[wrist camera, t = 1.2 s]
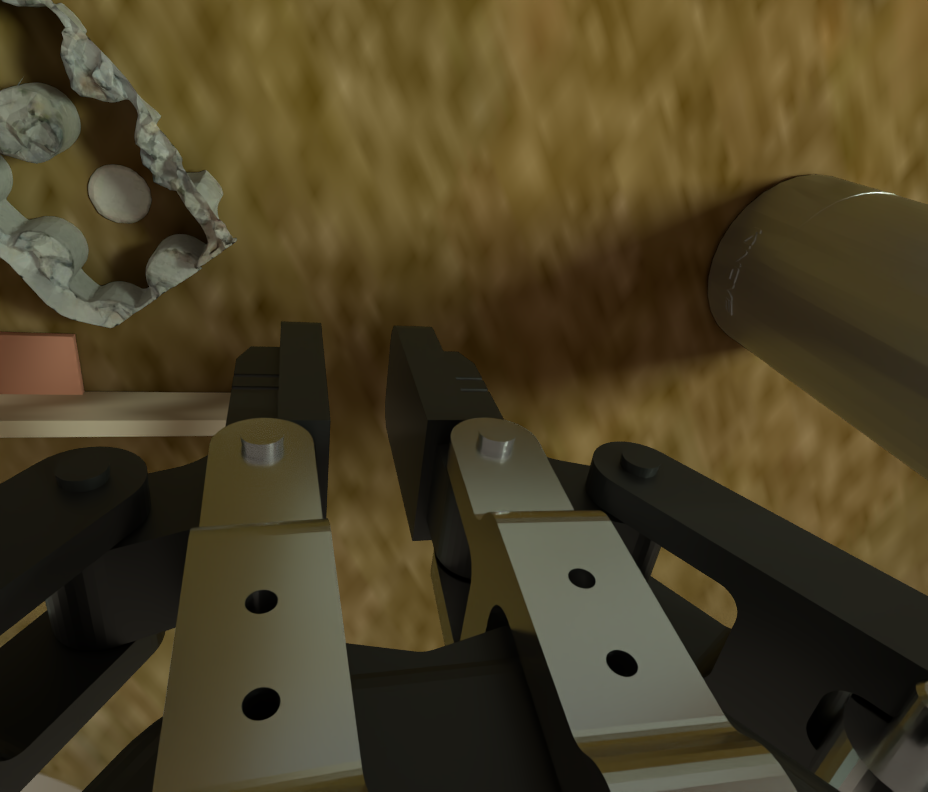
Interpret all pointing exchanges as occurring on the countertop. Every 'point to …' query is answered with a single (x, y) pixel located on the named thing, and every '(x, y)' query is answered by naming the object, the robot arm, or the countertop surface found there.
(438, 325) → the countertop surface
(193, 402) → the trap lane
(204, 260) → the egg carton
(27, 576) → the robot arm
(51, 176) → the countertop surface
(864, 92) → the countertop surface
